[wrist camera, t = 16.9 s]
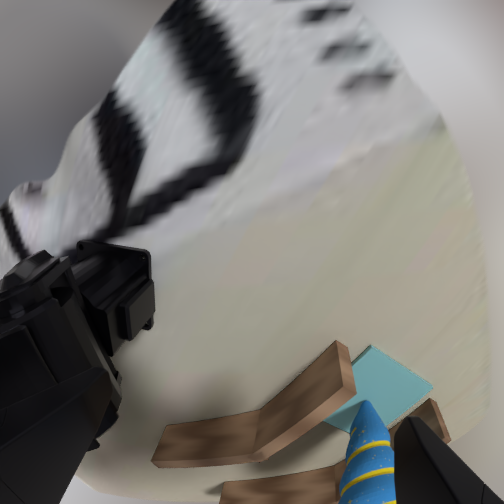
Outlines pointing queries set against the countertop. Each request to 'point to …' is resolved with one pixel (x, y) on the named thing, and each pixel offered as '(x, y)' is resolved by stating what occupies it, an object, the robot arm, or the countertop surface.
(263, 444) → the channel
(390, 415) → the pad
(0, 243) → the countertop surface
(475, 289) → the countertop surface
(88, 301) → the robot arm
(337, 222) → the countertop surface
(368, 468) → the ornament
